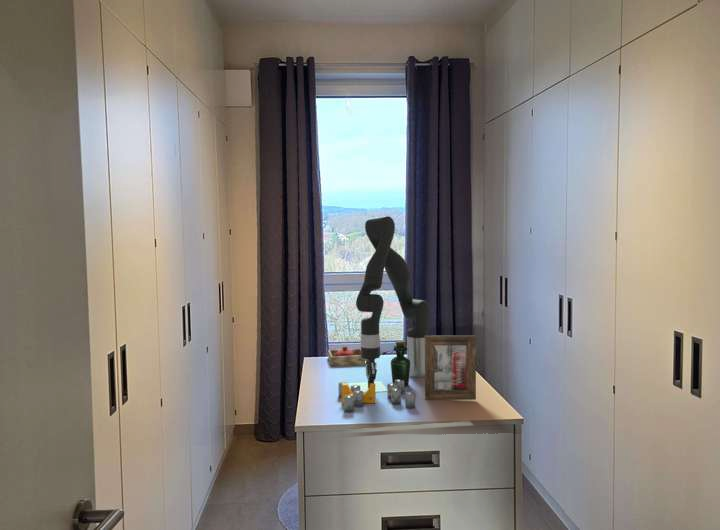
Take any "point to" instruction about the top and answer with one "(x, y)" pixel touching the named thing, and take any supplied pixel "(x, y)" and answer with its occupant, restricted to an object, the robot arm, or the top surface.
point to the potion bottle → (400, 364)
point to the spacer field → (392, 393)
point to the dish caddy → (345, 358)
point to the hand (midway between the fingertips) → (371, 389)
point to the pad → (364, 386)
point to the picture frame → (450, 367)
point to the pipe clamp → (366, 395)
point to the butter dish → (345, 352)
